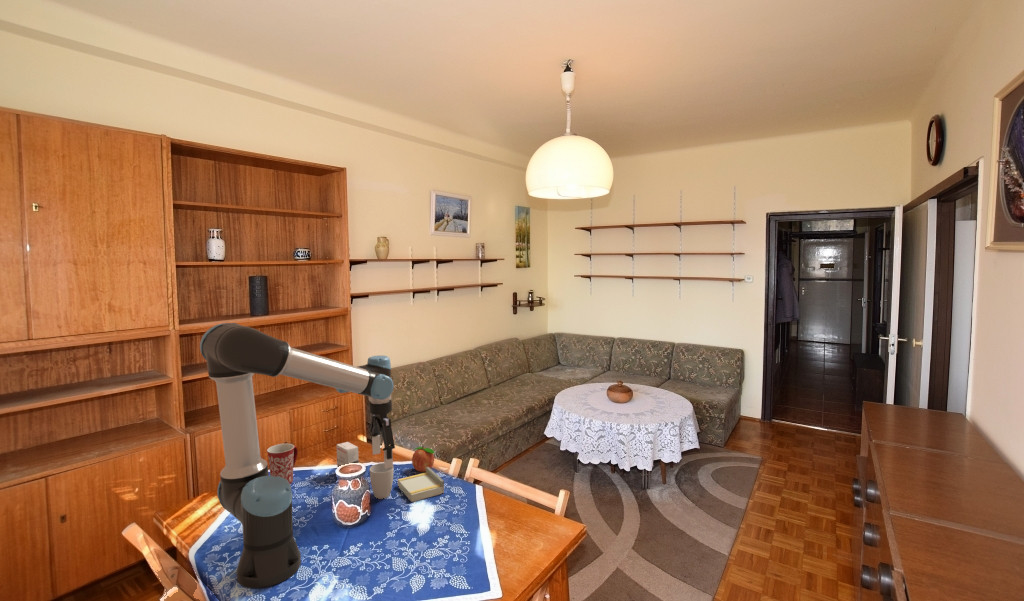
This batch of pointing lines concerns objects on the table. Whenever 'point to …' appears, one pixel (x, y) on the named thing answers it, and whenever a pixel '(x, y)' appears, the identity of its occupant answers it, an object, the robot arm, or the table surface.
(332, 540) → the table surface
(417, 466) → the fruit
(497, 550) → the table surface
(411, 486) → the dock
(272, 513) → the robot arm
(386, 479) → the cup
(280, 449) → the mug
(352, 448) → the ink box
